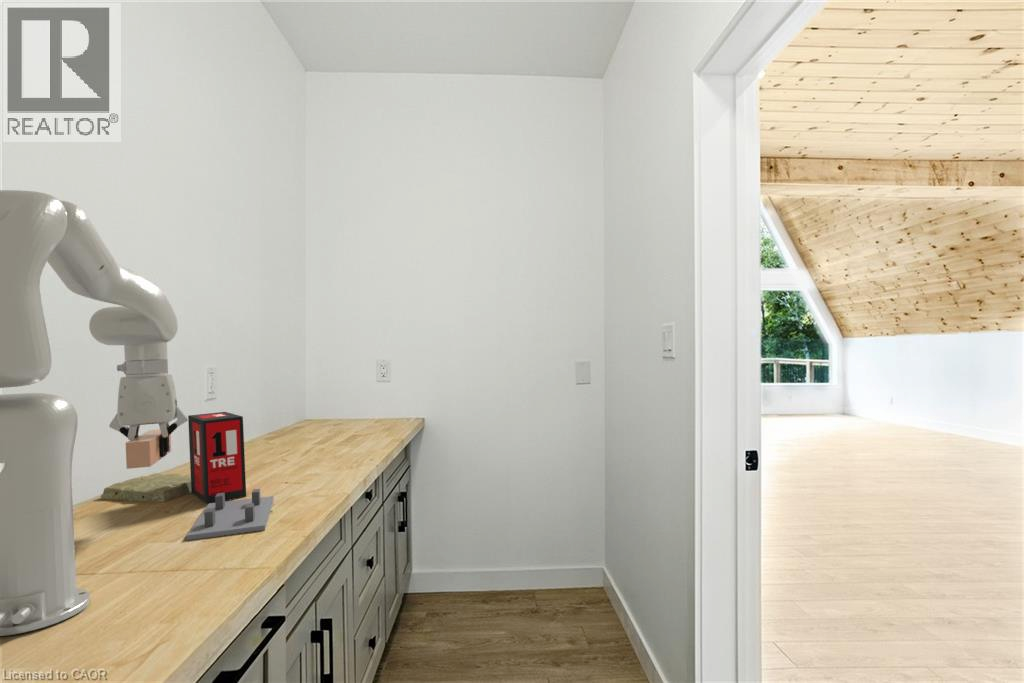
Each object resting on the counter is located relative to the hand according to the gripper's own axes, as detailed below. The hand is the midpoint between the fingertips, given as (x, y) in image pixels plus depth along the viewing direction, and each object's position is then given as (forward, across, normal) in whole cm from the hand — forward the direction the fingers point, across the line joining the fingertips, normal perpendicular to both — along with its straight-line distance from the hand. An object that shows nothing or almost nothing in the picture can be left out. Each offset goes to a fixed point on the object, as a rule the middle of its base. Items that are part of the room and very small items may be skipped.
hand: (150, 456), depth 121 cm
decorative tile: (+16, -7, +37) cm, 41 cm away
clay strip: (+1, 0, 0) cm, 1 cm away
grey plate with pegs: (+15, +15, +1) cm, 22 cm away
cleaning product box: (+15, +9, +26) cm, 31 cm away
